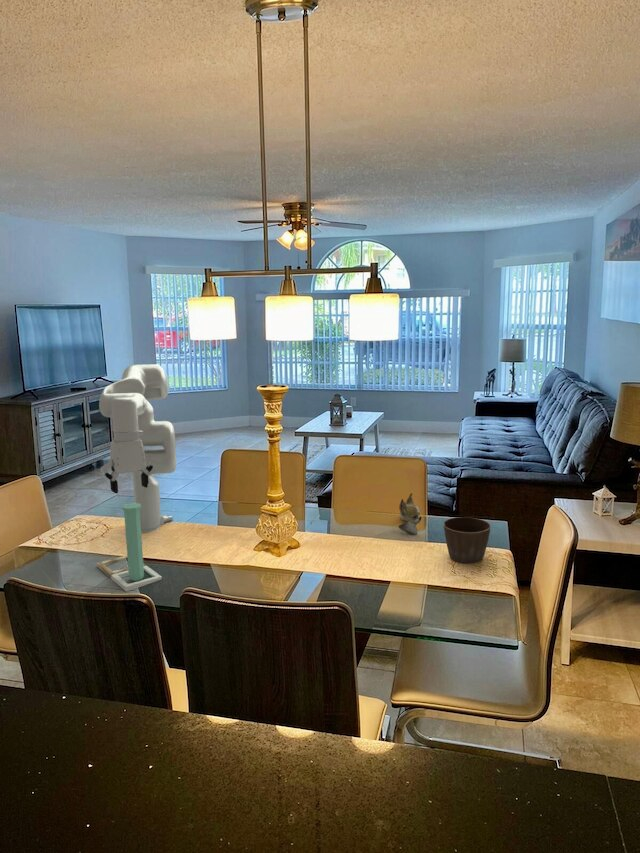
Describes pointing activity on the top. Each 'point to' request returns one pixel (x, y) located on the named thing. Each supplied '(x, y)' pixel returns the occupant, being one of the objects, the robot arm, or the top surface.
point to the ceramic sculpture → (409, 516)
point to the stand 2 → (134, 585)
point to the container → (134, 541)
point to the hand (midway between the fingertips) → (130, 489)
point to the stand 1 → (103, 564)
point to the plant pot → (466, 539)
